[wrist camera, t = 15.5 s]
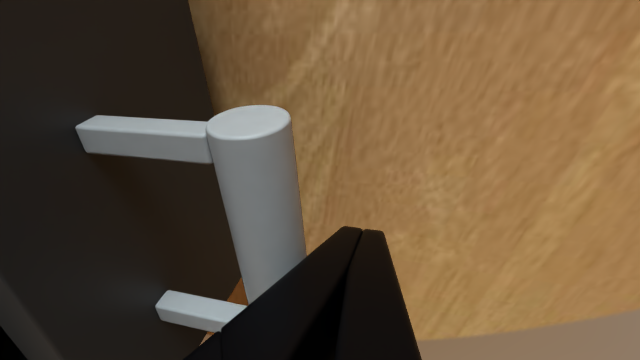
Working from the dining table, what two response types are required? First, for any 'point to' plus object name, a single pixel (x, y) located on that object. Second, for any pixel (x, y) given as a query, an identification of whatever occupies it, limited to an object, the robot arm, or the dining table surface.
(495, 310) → the dining table surface
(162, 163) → the drawer
